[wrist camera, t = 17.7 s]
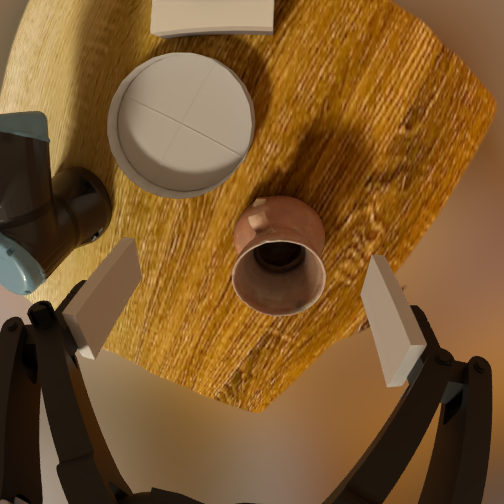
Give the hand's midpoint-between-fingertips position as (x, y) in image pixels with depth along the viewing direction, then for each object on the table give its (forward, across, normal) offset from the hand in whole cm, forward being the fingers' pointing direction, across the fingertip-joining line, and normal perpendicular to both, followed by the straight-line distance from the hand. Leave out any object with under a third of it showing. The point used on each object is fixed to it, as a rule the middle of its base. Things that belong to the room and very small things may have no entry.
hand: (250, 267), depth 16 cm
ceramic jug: (+32, +3, -14) cm, 35 cm away
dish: (+32, -13, +4) cm, 35 cm away
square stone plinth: (+32, -8, +26) cm, 42 cm away
